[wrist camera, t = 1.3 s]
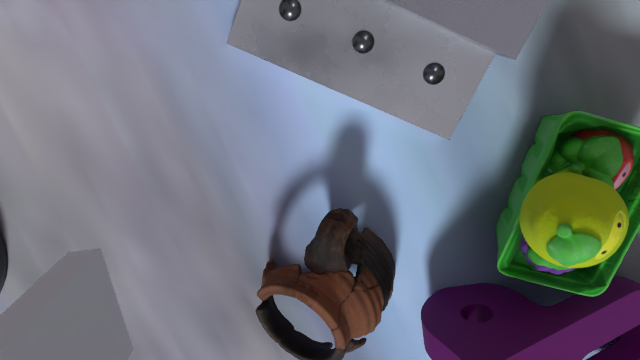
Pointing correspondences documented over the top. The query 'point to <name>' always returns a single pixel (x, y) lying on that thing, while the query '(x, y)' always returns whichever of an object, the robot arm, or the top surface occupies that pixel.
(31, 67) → the top surface
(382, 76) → the hinge
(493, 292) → the mounting bracket
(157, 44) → the top surface
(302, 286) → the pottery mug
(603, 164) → the fruit basket
